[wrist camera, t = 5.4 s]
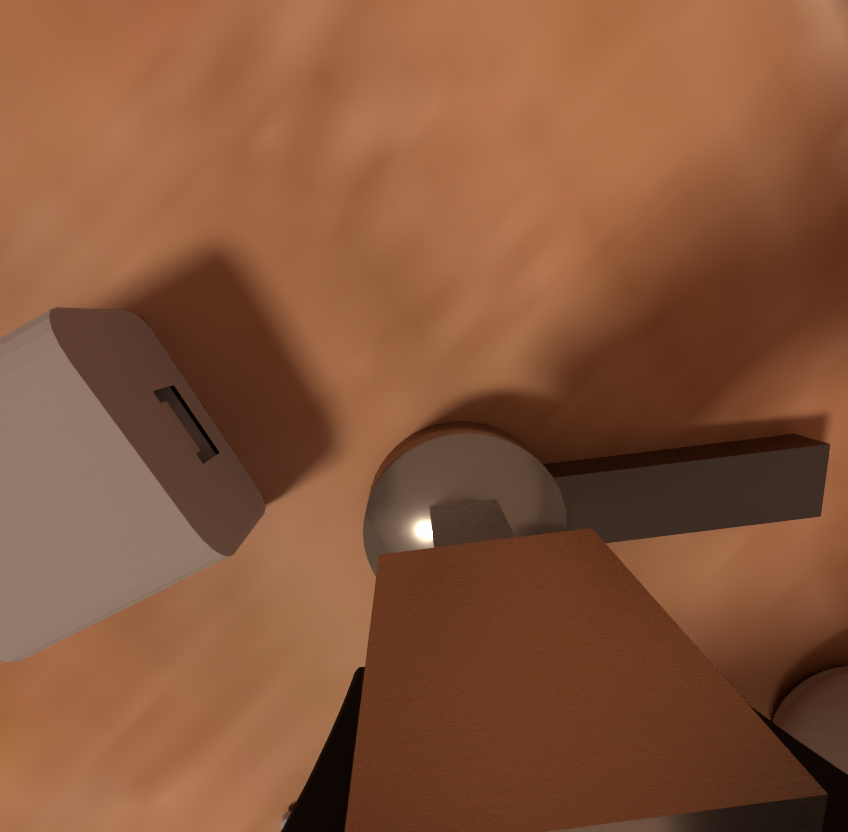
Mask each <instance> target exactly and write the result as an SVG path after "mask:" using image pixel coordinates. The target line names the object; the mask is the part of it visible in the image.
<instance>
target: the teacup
mask: <svg viewBox="0 0 848 832" xmlns="http://www.w3.org/2000/svg"><path fill="white" fill-rule="evenodd" d="M773 723H774V724H775V725H777V726H778V727H780V728H781V729H782V730H784V731H785V732H787V733H788V734H789V735H791V736H792V737H794V738H795V739H797V740H798V741H799V742H801V743H802V744H804V745H805V746H807V747H808V748H810V749H811V750H813V751H814V752H815V753H817V754H818V755H820V756H821V757H823V758H824V759H826V760H827V761H829V762H830V763H831V764H833V765H834V766H836V767H837V768H839V769H840V770H842V771H843V772H845V773H846V774H848V666H844V667H836V668H831V669H828V670H825V671H822V672H819V673H817V674H815V675H813V676H811V677H809V678H808V679H806V680H804V681H803V682H801V683H800V684H799V685H797V686H796V687H795V688H794V689H793V690H792V691H791V692H790V693H789V694H788V695H787V696H786V697H785V698H784V700H783V701H782V702H781V704H780V706H779V707H778V709H777V711H776V713H775V716H774V718H773Z"/></svg>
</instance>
